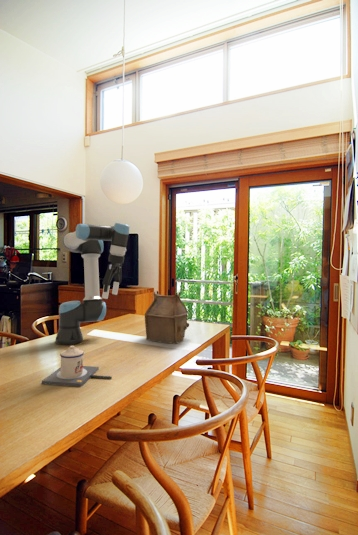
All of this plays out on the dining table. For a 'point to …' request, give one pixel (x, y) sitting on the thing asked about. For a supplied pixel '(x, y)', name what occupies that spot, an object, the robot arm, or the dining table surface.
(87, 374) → the warming pad
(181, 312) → the hut
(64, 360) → the teacup with lid
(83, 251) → the robot arm
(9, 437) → the dining table surface
